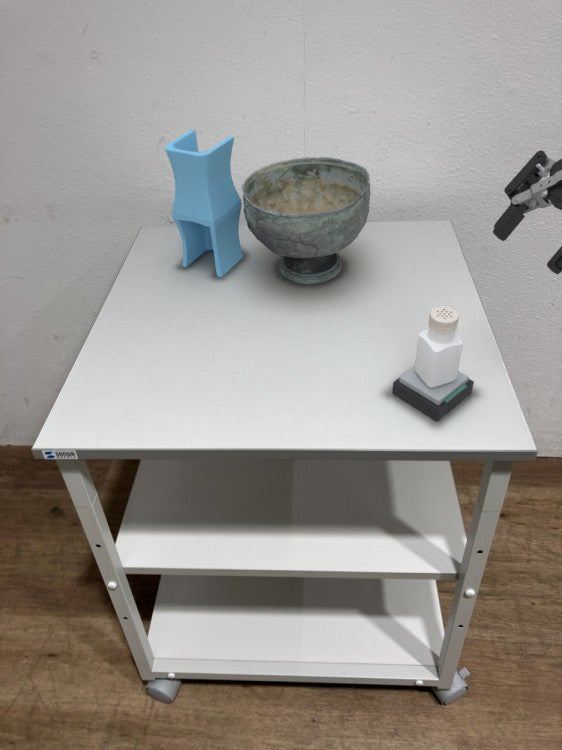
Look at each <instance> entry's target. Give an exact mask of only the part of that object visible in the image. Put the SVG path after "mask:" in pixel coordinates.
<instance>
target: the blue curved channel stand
mask: <svg viewBox="0 0 562 750" xmlns="http://www.w3.org/2000/svg"><path fill="white" fill-rule="evenodd" d="M197 139H198V138H197V132H196V129H190V130H188V131H187V132H185V133H183V134H182V135H180V136H178V137H177V138H175V139H174V140H172V141H170V142H169V143H168V144H166V145H165V146H164V150H165V151H164V152H165V153H166V156H167V158H168V160H169V163H170V166H171V170H172V173H173V177H174V188H175V189H174V199H173V205H172V209H171V214H172V218H173V219H172V220H173V221H174V223H175V225H176V227H177V230H178V232H179V235H180V238H181V242H182V250H183V251H182V262H181V263H182V265H181V267H183V268H187V267H189V266H190V265H191V264H192V263H193V262H194V261H196V260H197V259H198V258H199V257H200V256H202V255H203V254H204V253H205V252H207V251H208V252H209V251H211V250H212V251H213V258H214V264H215V271H216V277H219V278H223V277H224V276H225V275H226V274H227V273H229V271H230V270H231V269H232V268H233V267H235V266H236V265H237V264H238V263H239V262H240V261H241V260H242V259H243V258H244V253H243V249H242V246H241V242H240V233H239V232H240V231H239V229H240V228H239V227H240V217H241V213H242V205H243V204H242V202H243V201H242V198H241V197H240V194H239V193H238V190H237V189H236V187H235V185H234V181H233V177H232V173H231V172H232V171H231V164H232V163H231V160H232V153H233V146H234V142H235V137H234V136H232V135H229V136H228V137H226V138H225V139H223V140H222V141H220V142H218V143H217V144H216V145H213V147H211V148H209V149H208V150H203V151H199V145H198V140H197Z"/></svg>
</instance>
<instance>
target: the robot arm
mask: <svg viewBox="0 0 562 750" xmlns="http://www.w3.org/2000/svg"><path fill="white" fill-rule="evenodd" d="M548 175H549V176H548ZM542 178H544V179H542ZM545 192H546V194H545ZM504 193H505V195H506V196H507V198H508V199H509V201H510V204H509V205H508V207H507V208H506V209H505V210H504V212H503V213H502V214H501V216H500V217H499V218H498V219H497V220H496V221H495V223H494V225H493V230H492V233H493V235H494V236H495V237H496V238H497V239H499V240H500V241H502V242H505V241H506V240H507V239H508V238H509V237H510V236H511V234H512V233H513V232H514V231H515V229H517V227H518V226H519V225H520V223H521V222H522V221H523V220H524V219H525V218H526V215H525V214H528V213H530V212H532V211H535V210H537V209H540V208H541V209H546V208H548V207H550V206H553V208H556V209H557V210H560V211H562V157H561V158H560V159H558V160H554V159H552V158H550V157H549V156H548V155H547V153H546V152H545V151H544V150H543V149H542V150H538V151H536V152H535V154H533V156H531V158H530V159H529V160H528V161H527V162H526V163H525V165H524V166H523V167H522V168H521V170H519V172H517V174H516V175H515V176H514V177H513V178H512V180H511V181H510V182H509V183H508V184H507V185H506V186H505V188H504ZM546 267H547V268H548V269H549V270H550V272H552V273H553V274H555V275H559V274H561V273H562V245H560V247H559V248H558V249H557V251H556V252H555V253H554V254H553V255H552V257H551V258H550V259H549V260H548V261H547V263H546Z"/></svg>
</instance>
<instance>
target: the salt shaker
mask: <svg viewBox="0 0 562 750" xmlns="http://www.w3.org/2000/svg"><path fill="white" fill-rule="evenodd" d="M459 318H460V314H459V312H458V310H456V309H455V308H453V307H452V306H446V305H440V306H439V305H438V306H436V307H433V308H432V309H431V310H430V312H429V317H428V323H427V324H428V326H427V327H428V328H427V329H424V330H422V331H420V333H419V334H418V339H417V344H416V345H417V346H416V354H415V362H414V366H415V371H416V373H417V374H418V375H419V376H420V378H421V379H422V380H423V381H424V382H425V384H426V385H427V386H428V387H430V388H434V387H437V386H440V385H443V384H446V383H449V382H452V381H454V380H455V379H456V378H457V373H458V371H459V367H460V363H461V356H462V351H463V345H464V344H463V339H462V338H461V337H460V336H459V334H458V333H457V330H458V323H459Z"/></svg>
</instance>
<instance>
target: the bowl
mask: <svg viewBox="0 0 562 750" xmlns="http://www.w3.org/2000/svg"><path fill="white" fill-rule="evenodd" d="M241 190H242V200H243V201H242V202H243V214H244V218H245V221H246V225H247V228H248V230H249V232H251V234H252V235H253V236H254V238H255V239H256V240H257V241H259V242H260V243H261V244H262V245H263V246H264V247H265V248H267V250H269V251H270V252H272V253H273V254H275V255H277V256H281V258H280V260H279V271H280V274H281V275H282V276H283V277H285V278H286V279H287V280H289V281H291V282H294V283H296V284H303V285H315V284H321V283H325V282H328V281H330V280H333V279H334V278H335V277H337V276H338V275H339V274H340V273H341V271H342V269H343V265H342V263H343V262H342V259H341V257H340V256H339V254H338V252H340V251H341V250H343V249H345V248H347V247H348V246H350V245H351V244H352V243H353V242H354V241H355V240H356V239H357V238H358V236H359V234H360V233H361V232H362V230H363V229H364V227H365V226H366V223H367V221H368V216H369V213H370V204H371V183H370V173H369V172H368V170H367V168H366V167H364V166H362V165H360V164H358V163H355V162H352V161H349V160H345V159H340V158H335V157H328V156H327V157H324V156H323V157H314V156H313V157H306V156H305V157H298V158H296V157H295V158H289V159H288V158H287V159H284V160H279V161H275V162H272V163H269V164H266V165H264V166H261V167H259V168H257V169H256V170H254V171H253V172H251V173H249V174H248V175H247V177H246V178H245V179H244V180H243V181H242V186H241Z"/></svg>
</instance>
